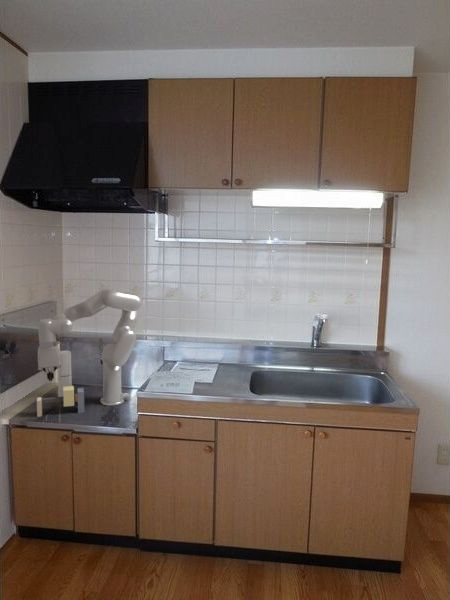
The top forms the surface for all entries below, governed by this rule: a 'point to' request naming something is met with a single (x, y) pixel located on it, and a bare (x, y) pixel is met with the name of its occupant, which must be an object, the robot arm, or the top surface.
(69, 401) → the pale yellow block
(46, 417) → the top surface
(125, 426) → the top surface
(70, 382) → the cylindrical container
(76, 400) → the grey h-shaped piece
